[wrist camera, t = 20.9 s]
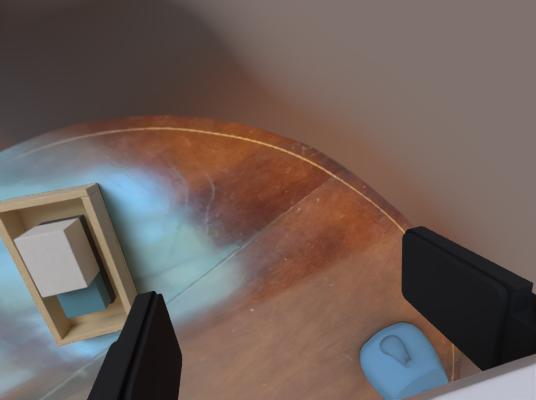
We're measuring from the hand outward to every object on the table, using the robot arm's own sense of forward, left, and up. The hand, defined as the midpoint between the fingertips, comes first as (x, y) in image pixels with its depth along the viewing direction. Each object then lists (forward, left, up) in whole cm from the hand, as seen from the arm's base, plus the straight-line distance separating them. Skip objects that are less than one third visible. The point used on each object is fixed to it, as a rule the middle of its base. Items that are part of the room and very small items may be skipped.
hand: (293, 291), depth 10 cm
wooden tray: (+8, -21, -26) cm, 34 cm away
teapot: (+37, +21, -26) cm, 50 cm away
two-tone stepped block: (+8, -21, -26) cm, 34 cm away
